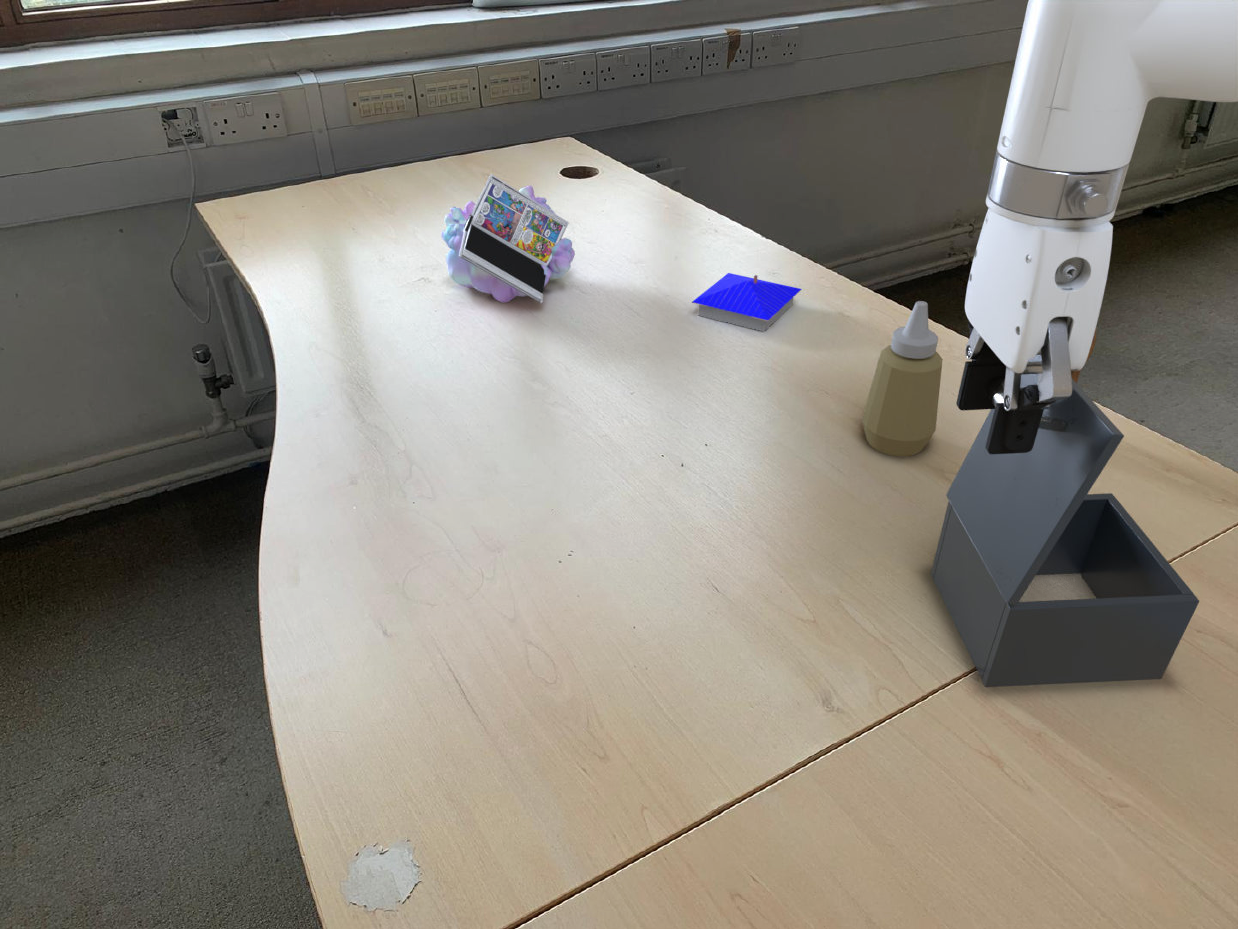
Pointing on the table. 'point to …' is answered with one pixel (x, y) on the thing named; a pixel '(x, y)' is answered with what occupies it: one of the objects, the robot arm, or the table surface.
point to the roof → (746, 301)
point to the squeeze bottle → (905, 389)
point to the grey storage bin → (1070, 605)
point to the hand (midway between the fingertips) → (992, 426)
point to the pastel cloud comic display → (506, 243)
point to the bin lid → (1030, 485)
